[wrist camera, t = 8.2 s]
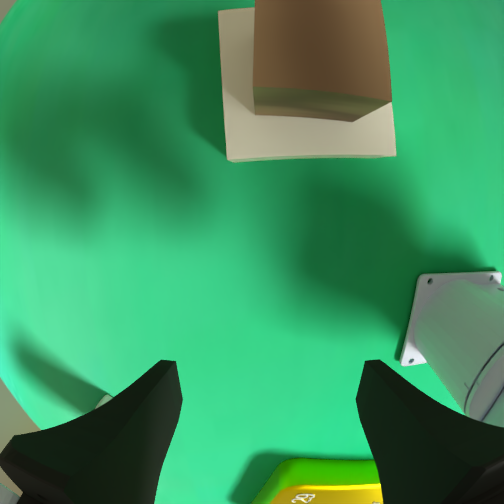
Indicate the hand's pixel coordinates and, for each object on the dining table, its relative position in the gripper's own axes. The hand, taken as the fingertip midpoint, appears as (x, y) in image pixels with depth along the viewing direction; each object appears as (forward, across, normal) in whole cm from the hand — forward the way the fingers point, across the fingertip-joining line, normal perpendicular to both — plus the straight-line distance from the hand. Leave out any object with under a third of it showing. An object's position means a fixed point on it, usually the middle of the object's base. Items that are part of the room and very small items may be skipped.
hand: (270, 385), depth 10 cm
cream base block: (+10, -2, -13) cm, 17 cm away
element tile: (+11, -7, +28) cm, 31 cm away
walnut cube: (+6, -2, -13) cm, 15 cm away
